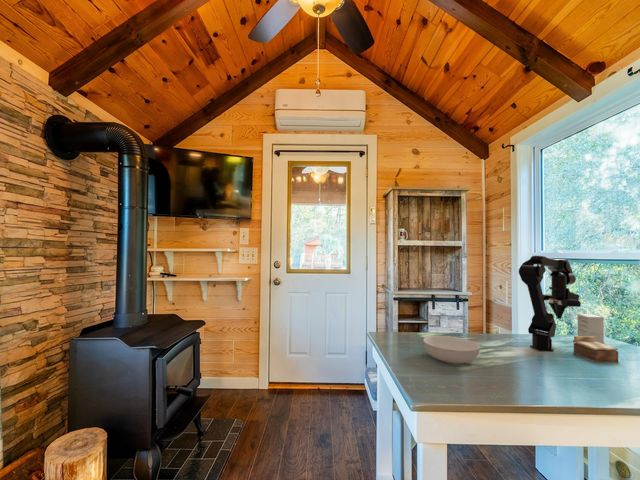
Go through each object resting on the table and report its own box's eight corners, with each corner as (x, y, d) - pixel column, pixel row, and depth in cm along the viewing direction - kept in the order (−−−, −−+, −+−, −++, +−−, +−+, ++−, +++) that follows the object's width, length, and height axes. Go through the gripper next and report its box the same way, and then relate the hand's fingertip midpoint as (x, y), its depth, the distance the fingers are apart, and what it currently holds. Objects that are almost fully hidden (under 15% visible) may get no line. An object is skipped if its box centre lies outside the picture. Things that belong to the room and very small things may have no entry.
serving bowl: (487, 371, 116) (487, 352, 116) (426, 366, 120) (426, 348, 120) (472, 353, 136) (472, 337, 136) (420, 349, 140) (420, 333, 140)
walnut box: (595, 362, 128) (595, 351, 128) (573, 353, 139) (573, 342, 139) (618, 362, 128) (618, 351, 128) (594, 353, 139) (594, 343, 139)
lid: (595, 350, 128) (594, 343, 128) (573, 342, 139) (572, 336, 139) (617, 350, 128) (617, 344, 128) (593, 342, 139) (593, 336, 139)
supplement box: (592, 339, 161) (592, 314, 161) (604, 343, 154) (604, 317, 154) (576, 338, 162) (576, 313, 162) (587, 342, 154) (587, 316, 155)
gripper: (592, 288, 143) (592, 323, 143) (560, 283, 162) (560, 314, 161) (567, 287, 143) (567, 323, 143) (538, 283, 162) (538, 314, 161)
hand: (558, 318), depth 152 cm, fingers closed
